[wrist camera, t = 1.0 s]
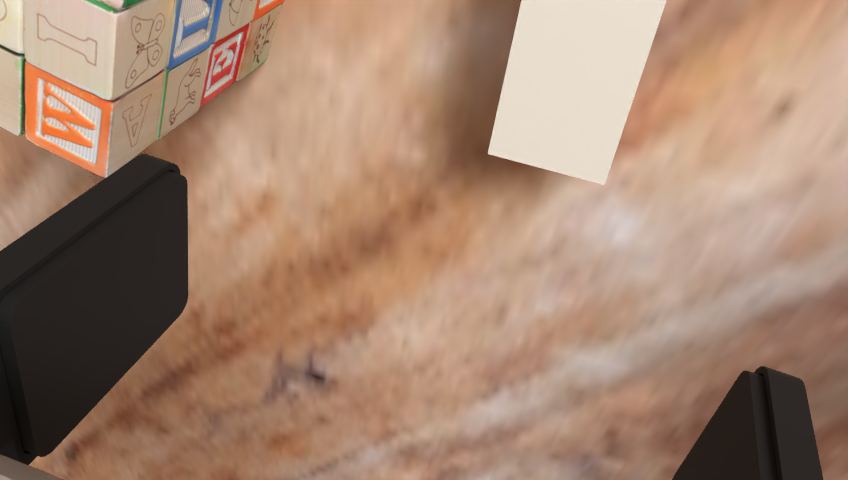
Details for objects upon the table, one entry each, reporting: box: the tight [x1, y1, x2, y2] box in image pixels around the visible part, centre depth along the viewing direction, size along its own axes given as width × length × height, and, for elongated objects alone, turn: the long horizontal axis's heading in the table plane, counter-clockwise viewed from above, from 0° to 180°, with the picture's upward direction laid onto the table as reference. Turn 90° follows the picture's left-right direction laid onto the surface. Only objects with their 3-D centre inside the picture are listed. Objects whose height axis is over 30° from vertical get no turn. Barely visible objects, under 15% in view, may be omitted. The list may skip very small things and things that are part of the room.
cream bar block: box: [488, 0, 666, 185], centre depth 26 cm, size 4×9×5 cm, turn 170°
